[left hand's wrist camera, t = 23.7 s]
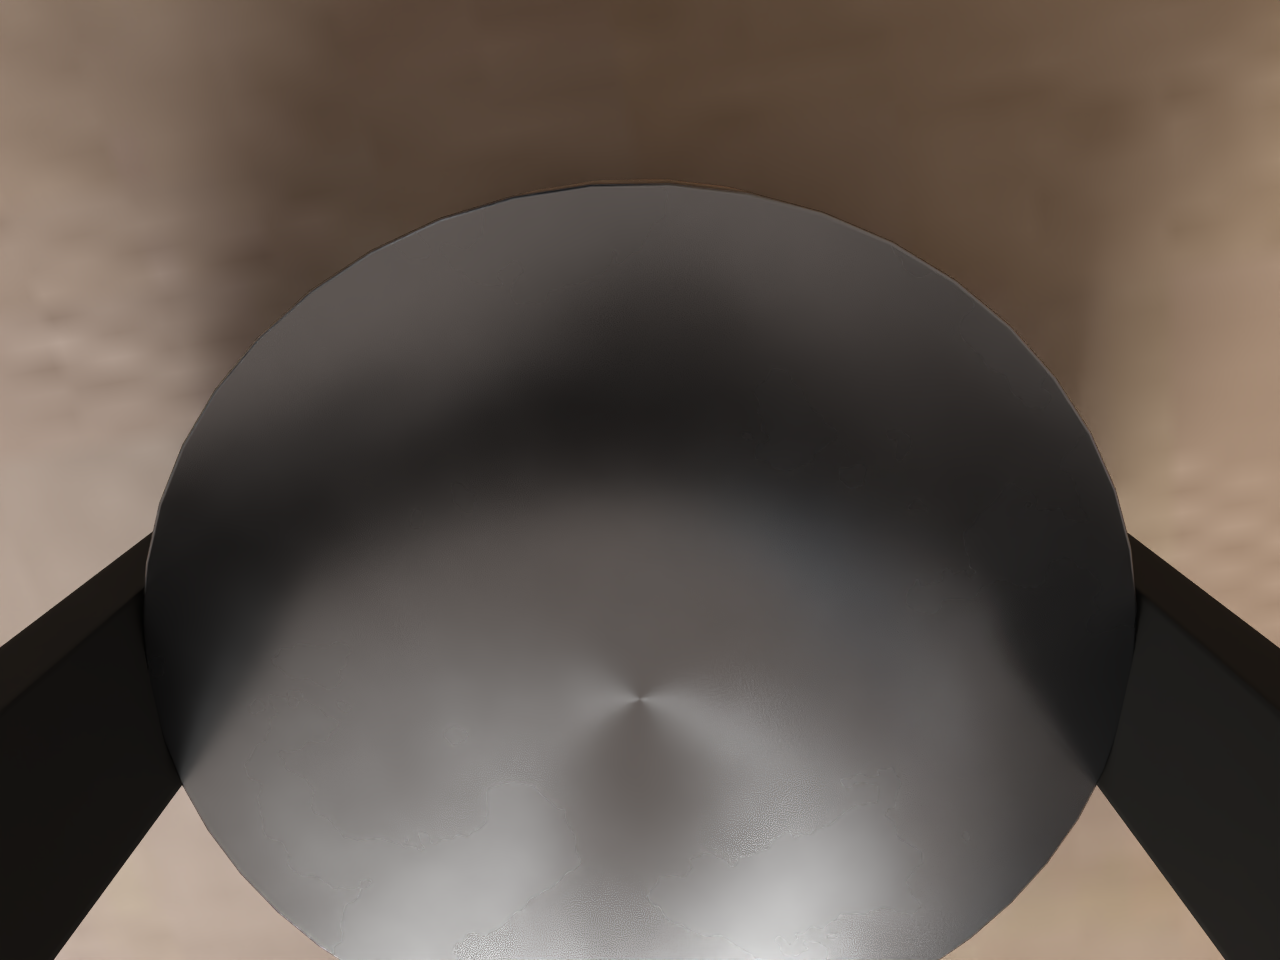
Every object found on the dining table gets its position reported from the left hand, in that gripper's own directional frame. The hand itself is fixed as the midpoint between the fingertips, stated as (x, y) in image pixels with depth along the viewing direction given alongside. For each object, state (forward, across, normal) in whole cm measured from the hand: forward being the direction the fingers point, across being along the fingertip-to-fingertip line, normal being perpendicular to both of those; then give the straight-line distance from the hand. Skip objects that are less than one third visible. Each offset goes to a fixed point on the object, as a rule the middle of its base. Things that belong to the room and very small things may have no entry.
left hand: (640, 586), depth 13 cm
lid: (-3, 0, 0) cm, 3 cm away
